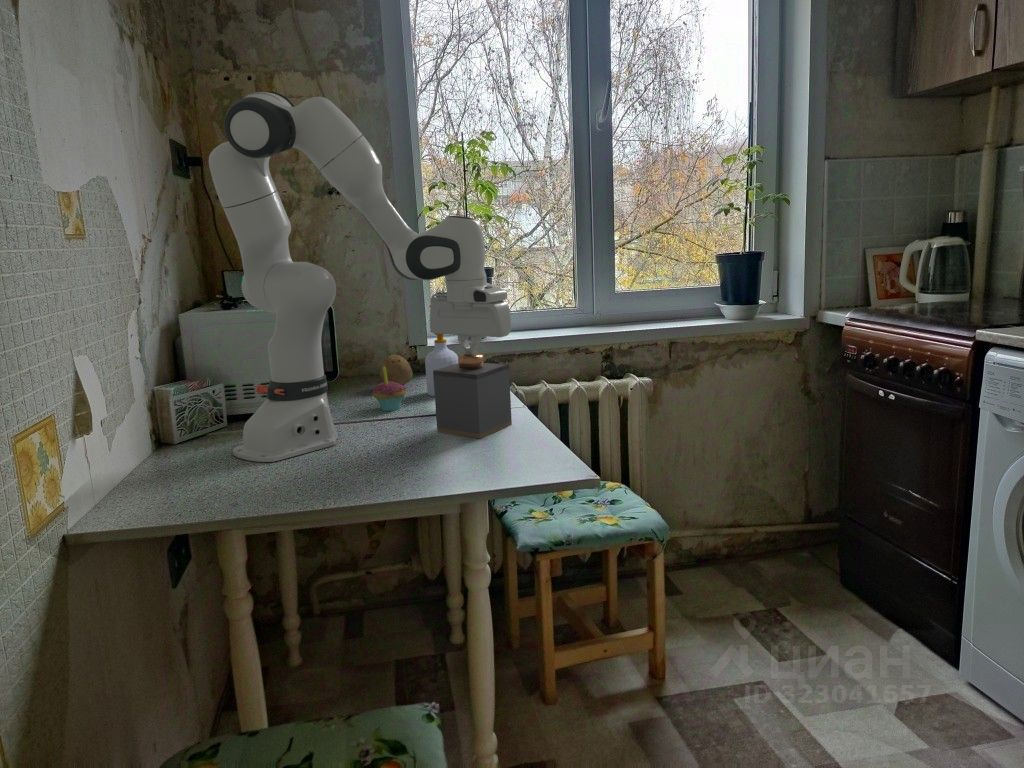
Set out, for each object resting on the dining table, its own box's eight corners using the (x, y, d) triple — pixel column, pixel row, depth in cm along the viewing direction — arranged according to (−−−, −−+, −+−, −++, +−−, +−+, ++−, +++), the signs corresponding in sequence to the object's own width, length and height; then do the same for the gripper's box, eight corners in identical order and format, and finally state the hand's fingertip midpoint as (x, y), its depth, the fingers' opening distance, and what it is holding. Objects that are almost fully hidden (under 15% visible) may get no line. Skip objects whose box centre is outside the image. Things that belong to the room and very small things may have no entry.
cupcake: (401, 413, 176) (397, 365, 173) (368, 413, 177) (364, 366, 175) (411, 404, 184) (407, 359, 182) (380, 404, 186) (376, 359, 183)
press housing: (480, 438, 151) (476, 374, 148) (437, 431, 158) (432, 370, 155) (511, 424, 161) (508, 364, 158) (470, 418, 168) (466, 360, 164)
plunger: (478, 429, 152) (474, 360, 149) (444, 424, 158) (439, 357, 155) (504, 418, 160) (500, 353, 157) (470, 413, 166) (466, 350, 162)
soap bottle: (422, 396, 192) (415, 306, 187) (435, 389, 200) (429, 302, 195) (453, 397, 189) (447, 306, 184) (465, 390, 198) (459, 302, 192)
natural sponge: (374, 390, 203) (370, 356, 201) (396, 384, 210) (393, 351, 207) (396, 393, 197) (393, 358, 195) (418, 387, 204) (415, 353, 202)
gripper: (421, 293, 156) (425, 355, 159) (496, 294, 145) (499, 361, 148) (439, 290, 161) (443, 350, 164) (513, 291, 150) (516, 355, 153)
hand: (470, 355), depth 156 cm, fingers closed, pressing on plunger
